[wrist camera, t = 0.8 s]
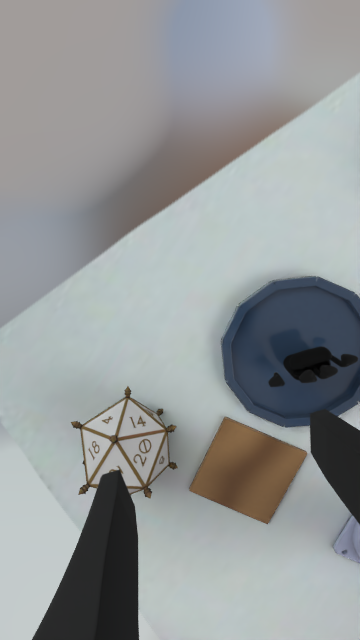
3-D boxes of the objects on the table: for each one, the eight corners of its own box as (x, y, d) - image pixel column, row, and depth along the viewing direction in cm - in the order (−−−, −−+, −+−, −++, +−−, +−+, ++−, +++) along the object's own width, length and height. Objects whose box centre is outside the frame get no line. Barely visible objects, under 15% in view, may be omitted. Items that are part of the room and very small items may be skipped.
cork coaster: (306, 451, 29) (307, 453, 29) (266, 521, 31) (267, 524, 30) (224, 416, 29) (225, 418, 29) (189, 488, 31) (189, 490, 30)
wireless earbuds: (263, 377, 28) (277, 401, 23) (254, 352, 28) (267, 370, 23) (340, 353, 27) (372, 373, 22) (333, 327, 27) (363, 340, 22)
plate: (401, 314, 27) (409, 316, 26) (328, 442, 29) (333, 448, 28) (261, 253, 26) (263, 252, 25) (199, 386, 29) (199, 390, 28)
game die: (135, 389, 33) (113, 355, 24) (198, 441, 30) (200, 424, 22) (73, 461, 30) (23, 451, 21) (138, 526, 27) (110, 547, 19)
